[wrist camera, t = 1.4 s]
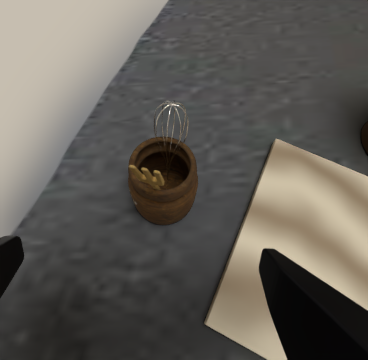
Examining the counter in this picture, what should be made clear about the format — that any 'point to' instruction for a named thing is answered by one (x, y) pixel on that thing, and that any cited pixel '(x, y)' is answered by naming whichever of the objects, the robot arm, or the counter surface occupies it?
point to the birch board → (294, 241)
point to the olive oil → (365, 137)
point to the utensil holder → (163, 177)
